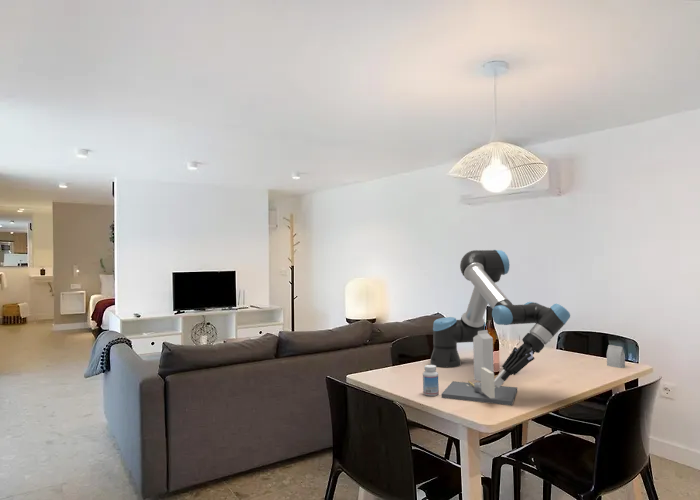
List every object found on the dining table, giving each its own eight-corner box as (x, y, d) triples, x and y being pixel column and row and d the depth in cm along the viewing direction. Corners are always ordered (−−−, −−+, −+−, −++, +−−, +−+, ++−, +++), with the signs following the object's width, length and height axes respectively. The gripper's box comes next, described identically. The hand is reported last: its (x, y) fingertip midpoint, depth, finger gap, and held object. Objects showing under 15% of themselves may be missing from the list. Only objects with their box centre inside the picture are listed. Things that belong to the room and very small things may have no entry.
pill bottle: (441, 394, 185) (441, 366, 185) (430, 397, 181) (429, 368, 182) (431, 391, 190) (430, 363, 190) (420, 393, 186) (419, 365, 187)
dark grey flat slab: (441, 397, 181) (441, 393, 181) (452, 384, 199) (452, 380, 199) (511, 405, 170) (511, 400, 170) (517, 391, 188) (517, 386, 188)
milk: (493, 381, 204) (493, 330, 204) (483, 383, 201) (483, 331, 201) (483, 378, 209) (482, 328, 210) (473, 379, 206) (472, 330, 207)
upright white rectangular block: (464, 383, 194) (464, 358, 194) (473, 383, 194) (472, 358, 194) (487, 401, 169) (487, 373, 169) (497, 401, 169) (496, 373, 169)
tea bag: (620, 368, 223) (620, 347, 224) (606, 365, 229) (606, 345, 229) (625, 367, 225) (624, 346, 225) (611, 364, 231) (610, 344, 231)
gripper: (552, 348, 169) (509, 397, 167) (535, 342, 182) (495, 387, 180) (538, 334, 169) (495, 382, 167) (521, 329, 182) (481, 374, 180)
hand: (495, 385), depth 174 cm, fingers closed
